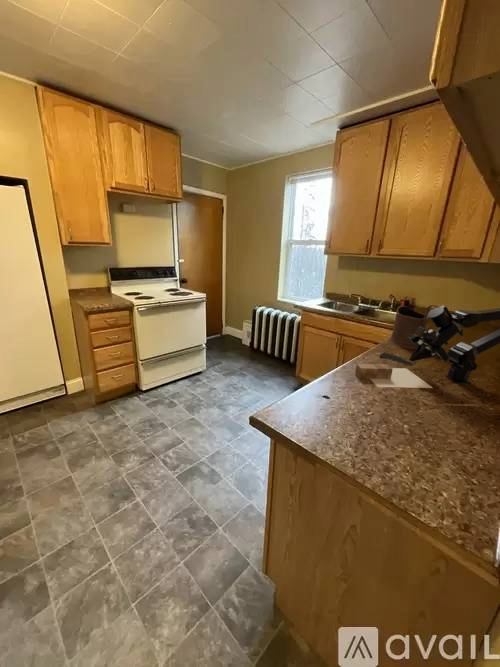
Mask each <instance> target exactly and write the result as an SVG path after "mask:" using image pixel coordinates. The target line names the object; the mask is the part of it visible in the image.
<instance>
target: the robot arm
mask: <svg viewBox="0 0 500 667" xmlns="http://www.w3.org/2000/svg"><path fill="white" fill-rule="evenodd" d="M428 319H429V320H430V321H431V323H432V325H433V324H434V325H435V326H434V327H435V328H437V329H436V330H433V329H429V330H426V329H427V328H426V329H424V328H421V327H418V329H417V330H416V332H415V334H411V335H410V336H409V339H410V340H411V341H412V342H413V344H414V345H415V346H416V348H415V349H413V350H414V351H413V352H412V353H411V355H410V357H408V359H409V360H408V361H409V362H411V363H413V362H414V361H415V362H417V361H419V360H420V361H421V360H424V359H425V360H426V359H430V358H432V359H434V356H435V355H437V356H439V357H438V359H439V360H440V361H441V362H443V363H446V362H447V361H448V362H449V363H451V366H450V367H449V370H448V373H447V374H445V377H446V378H448V379H450V381H453V382H454V383H457V384H460V383H461V384H471V380H469V377H470V374H471V372H472V371H476V369H477V368H478V364H477V363H476V359H477V358H478V356H479V355H480V354H481V353H484V352H486V351H488V350H489V349H492V348H494V347H495V346H498V345H500V328H499V329H497V330H494V331H493V332H491V333H488V334H487V335H485V336H483V337H481V338H479V339H477V340H475V341H472V342H471V343H466V342H463V341H461V342H459V343H457V344H455V345H452V346H451V348H449V350H448V352H447V350H446V349H445V348H444V347H442V346H443V345H445V346H447V345H449V342H448V341H450V340H451V339H453V338H454V337H455V336H456V335H457V336H460V337H463V336H464V328H472V327H475V326H478V325H479V324H480V323H485V322H486V323H487V322H492V321H500V307H498V308H497V307H496V308H490V309H482V310H468V309H458V310H455V311H454V312H450V311H449V308H448V307H447V306H445V305H441V306H439V307H438V308H436V307H435V308H433V309H430V310H429V313H428ZM459 326H460V327H463V328H460V327H459ZM416 334H418V335H419V336H418V335H416ZM420 336H421V338H422V339H423V340H422V339H421V338H420Z"/></svg>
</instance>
